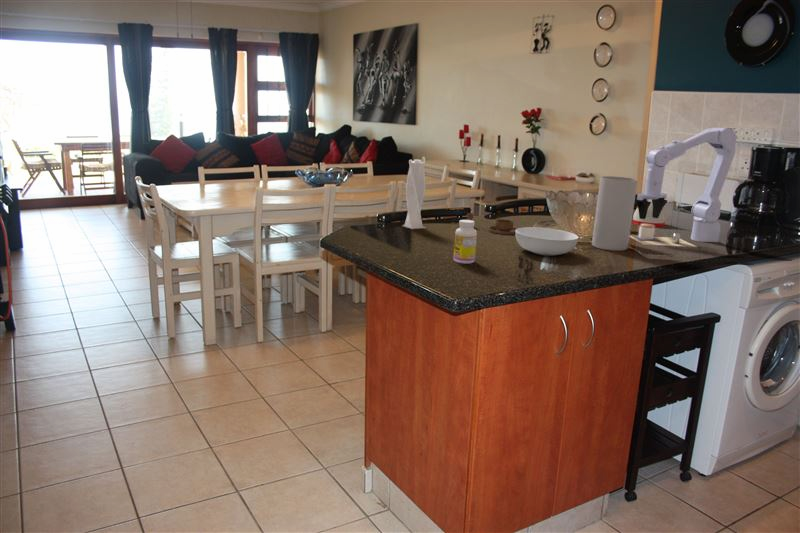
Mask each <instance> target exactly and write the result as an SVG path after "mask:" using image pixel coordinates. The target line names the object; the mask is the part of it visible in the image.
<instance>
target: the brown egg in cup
mask: <svg viewBox="0 0 800 533" xmlns="http://www.w3.org/2000/svg"><path fill="white" fill-rule="evenodd" d="M655 230H656V227H655V225H652V224H641V225H639V230H638V234H637V235H638V237H639V238H643V239H653V237H655V236H654V235H655Z"/></svg>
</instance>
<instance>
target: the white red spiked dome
mask: <svg viewBox="0 0 800 533" xmlns="http://www.w3.org/2000/svg"><path fill="white" fill-rule="evenodd" d="M651 198H656V197H651ZM648 201H649V202H651V204H650V206H649V208H648V210H647V215H646V218H645V219H640V218H639V210H638V206H636V210H635V211H634V212H633V214H634V216H633V223H632V224H634V225H636V226H637V225H638V226H641V224H652V225H655V227H654V228H662V227H665V224H666V214H665V209H664V207H663V208H662V210H661V213H660V215H659V217H658V218H653V217H652V212H653V204H652V199H648Z"/></svg>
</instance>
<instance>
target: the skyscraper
mask: <svg viewBox="0 0 800 533" xmlns="http://www.w3.org/2000/svg"><path fill="white" fill-rule="evenodd" d="M408 164H409V168H408V171H407V177H406V183H405V200H406V209H407V214H406V219H405V221H404V224H402V225H401V227H404V228H407V229H410V230H421V229H427V227H425V226H423V222H422V215H421V211H422V207H423V204H424V200H425V193H426V173H425V164H426V156H422V158H421V159H413V160H412V159H409V160H408Z"/></svg>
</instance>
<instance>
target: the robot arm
mask: <svg viewBox="0 0 800 533" xmlns="http://www.w3.org/2000/svg"><path fill="white" fill-rule="evenodd" d="M737 138H738V135H737V134H736V132H735V130H734V129H732V128H731V127H718V126H711V127H709V128H706V129H704V130H702V131H700V132H699V133H697V134H694V135H693V136H691V137H689V138H687V139H685V140H684V141H681V140H676V139H675V140H672V141H671V143H668V144H666V145H665V146H664V145H661V146H660V147H659V149H652V150H651V151H649V153H648V155H646V156H645V157H646V159H645V160H646V163H647V165H648V166H647V174H646V180H645V186H644V187H645V188H644V193H643V192H642V193H638V194H637V196H636V198H635V203H636V207H638V210H639V218H640V219H645V218H646V215H647V210H648V208H649V206H650V204H651V202H649V201H648V199H652V204H653V212H652V217H653V218H658V217H659V215H660V213H661V210H662V208H663V209H664V207H665V206H666V205H667V203H668V200H667V193H664V192H663V193H662V188H663V182H664V176H665V168H666V166H667V165H668V164H669V163H670V162H671V161H673V160H675V159H678V158H679V157H682V156H684V155H685V154H686V151H687V150H689V149H692V148H694V147H698V146H700V145H703V144H705V143H708V145H710V147H712V148H713V149H714V151H715V152H716V153H717V156H716V158H715V161H714V163H713V167H712V169H711V172H710V174H709V176H708V180H707V183H706V187H705V189H704V192H703V194H701V195H700V196H698V197H697V199H696V202H695V203H694V204H693V205H692V207H691V210H690V211H691V215H692V217H693V223H692V229H691V235H690V240H692V241H697V242H701V243H719V240H720V236H721V228H722V227H721V224H720V223H719V221H717V220H718V219H719V218H720V216H721V207H722V202H721V201H720V199H719V197H720V196H721V192H722V189H723V187H724V185H725V181H726V178H727V176H728V173H729V171H730V168H731V165H732V162H733V159H734V157H735V156H736V155H735V154H736V141H737ZM651 197H656V198H651Z"/></svg>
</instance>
